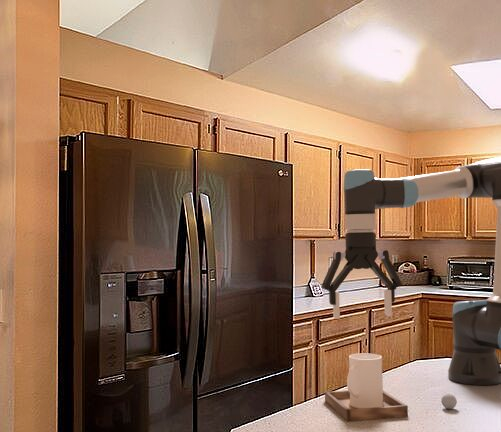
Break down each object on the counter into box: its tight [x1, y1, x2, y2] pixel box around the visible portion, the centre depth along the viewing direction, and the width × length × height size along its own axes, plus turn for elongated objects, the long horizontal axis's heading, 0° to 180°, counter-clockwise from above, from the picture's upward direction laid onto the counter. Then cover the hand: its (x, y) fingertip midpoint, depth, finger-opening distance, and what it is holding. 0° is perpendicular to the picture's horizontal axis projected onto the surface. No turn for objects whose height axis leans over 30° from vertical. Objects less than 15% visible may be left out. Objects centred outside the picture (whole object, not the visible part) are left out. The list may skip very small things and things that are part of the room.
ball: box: [441, 393, 458, 410], centre depth 149 cm, size 4×4×4 cm
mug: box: [346, 352, 384, 409], centre depth 151 cm, size 12×8×12 cm
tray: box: [324, 389, 409, 422], centre depth 151 cm, size 15×17×2 cm
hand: (362, 316), depth 152 cm, fingers open, 13 cm apart
